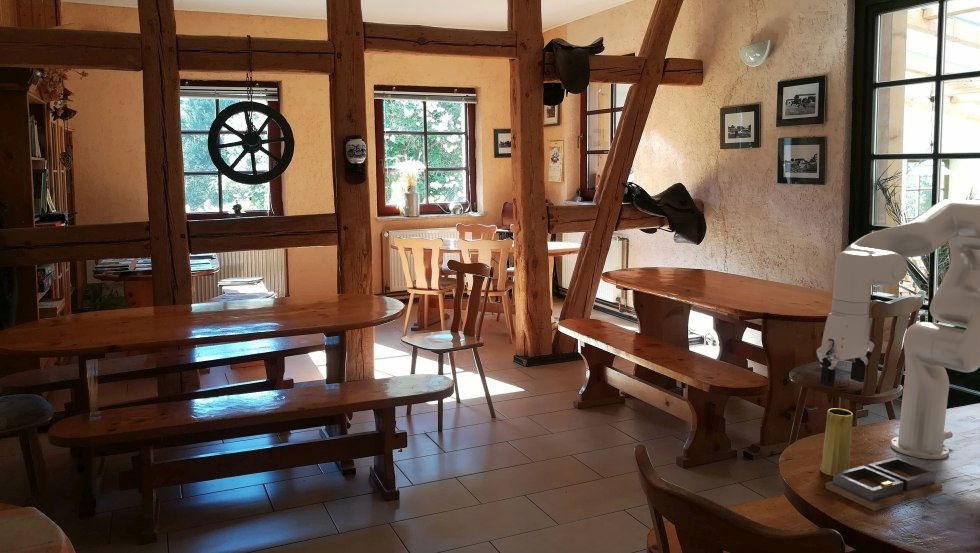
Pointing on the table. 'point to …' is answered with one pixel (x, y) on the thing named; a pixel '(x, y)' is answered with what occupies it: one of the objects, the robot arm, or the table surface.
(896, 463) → the two-cubby wall shelf
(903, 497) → the board
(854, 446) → the table surface
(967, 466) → the table surface
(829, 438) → the vase
